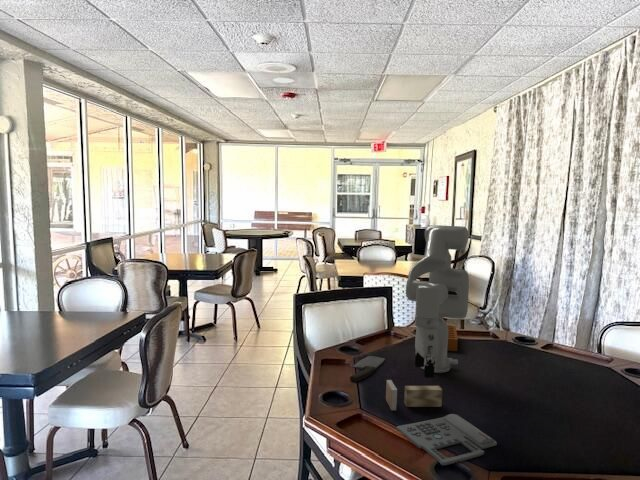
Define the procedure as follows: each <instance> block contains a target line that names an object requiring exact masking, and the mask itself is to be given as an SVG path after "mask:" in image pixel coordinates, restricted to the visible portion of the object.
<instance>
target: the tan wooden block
mask: <svg viewBox="0 0 640 480" xmlns="http://www.w3.org/2000/svg"><path fill="white" fill-rule="evenodd" d="M442 399H443V388H442V387H441V386H440V385H404V397H403V403H404V405H405V406H406V407H407V408H409V407H410V408H412V407H413V408H414V407H415V408H418V407H420V408H422V407H423V408H424V407H427V408H429V407H430V408H432V407H434V408H435V407H437V408H438V407H439V408H441V407H442V405H443V404H442V403H443V402H442V401H443V400H442Z"/></svg>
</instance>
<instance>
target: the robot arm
mask: <svg viewBox="0 0 640 480" xmlns="http://www.w3.org/2000/svg"><path fill="white" fill-rule="evenodd" d="M469 237H470V235H469V229H468V228H467V227H466V226H463V225H462V226H460V225H429V226H427V227H425V229H424V239H425V248H424V255H423V258H421V259H419V260H418V261H417V262H416V263H415V264H414V265H413V266H412V268H411V269H410V270H409V273H408V276H407V281H406V285H405V296H406V298H407V300H409V301H411V302H415V312H414V313H415V315H414V316H415V318H414V326H415V327H416V328H415V338H414V340H415V341H414V348H415V353H414V354H415V355H414V367H416V368H420V369H422V370H423V377H424V378H426V379H429V378H430V379H433V378H435V373H437V374H442V373H447V372H449V371H450V370H451V365H458V364H459V360H458V359H453V357H448V350H447V344H448V326H447V325H448V323H447V322H446V320H445V319H444V318H447V319H457V320H459V319H460V320H463V319H465V318H466V317H467V315H468V311H469V291H470V290H469V289H470V277H469V276H470V275H469V273H468V271H466V270H465V269H461V268H452V254H451V253H450V252H449V250H455V251H456V250H457V251H463V250H465V248H466V247H467V244H468V242H469ZM425 274H429V275H428V276H429V277H428V281H425V280H418V279H419V278H420V277H421V276H423V275H425ZM449 292H454V293H456V294H449Z"/></svg>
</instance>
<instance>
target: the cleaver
mask: <svg viewBox="0 0 640 480" xmlns="http://www.w3.org/2000/svg"><path fill="white" fill-rule="evenodd" d="M385 361H386V358H385V357H379V356H373V355H368V356H366V357H363V358H362V359H360V360H359V361H357V362H356V363H354V365H353V366H352V368H355V369H359V370H360V371H358V372H357V373H355V374H353V375H351V376H350V377H349V380H350V381H351V382H355V383H357V382H358V383H359V382H360V381H363V380H364V379H366V378H368V377H369V376H370V375H371V376H372V374H374V373H375V372H376V370H377V369H378V368H379V367H381V366H382V364H383V363H384V362H385Z"/></svg>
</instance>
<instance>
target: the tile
mask: <svg viewBox="0 0 640 480" xmlns="http://www.w3.org/2000/svg"><path fill="white" fill-rule="evenodd" d="M397 398H398V388H397V387H396V385H395V384H394V382H393V380H392V379H386V386H385V400H386V403H387V404H388V406H389V409H390V410H391V411H397V401H398V399H397Z"/></svg>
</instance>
